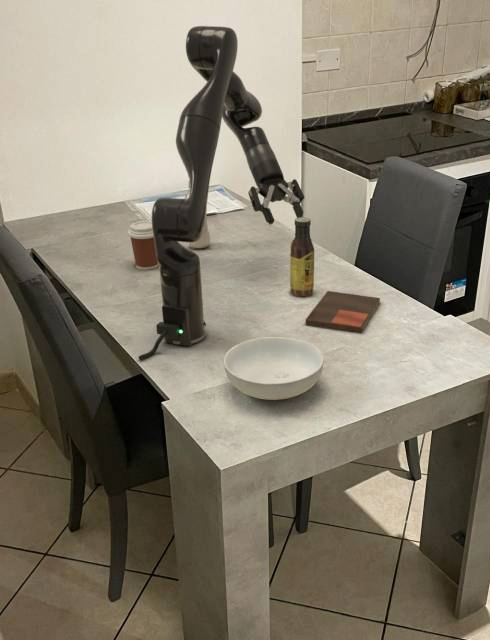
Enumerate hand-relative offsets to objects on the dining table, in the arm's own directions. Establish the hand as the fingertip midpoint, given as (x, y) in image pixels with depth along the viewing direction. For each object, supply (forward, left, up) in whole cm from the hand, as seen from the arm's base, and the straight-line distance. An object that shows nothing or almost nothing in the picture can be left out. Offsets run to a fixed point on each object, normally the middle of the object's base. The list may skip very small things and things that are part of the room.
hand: (286, 220), depth 208 cm
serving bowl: (-53, -16, -18) cm, 58 cm away
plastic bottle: (+17, +34, -18) cm, 42 cm away
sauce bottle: (-5, -6, -18) cm, 19 cm away
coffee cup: (-1, +42, -18) cm, 46 cm away
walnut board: (-14, -20, -18) cm, 30 cm away
